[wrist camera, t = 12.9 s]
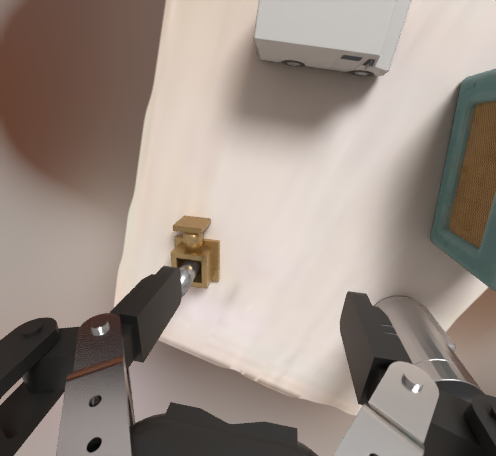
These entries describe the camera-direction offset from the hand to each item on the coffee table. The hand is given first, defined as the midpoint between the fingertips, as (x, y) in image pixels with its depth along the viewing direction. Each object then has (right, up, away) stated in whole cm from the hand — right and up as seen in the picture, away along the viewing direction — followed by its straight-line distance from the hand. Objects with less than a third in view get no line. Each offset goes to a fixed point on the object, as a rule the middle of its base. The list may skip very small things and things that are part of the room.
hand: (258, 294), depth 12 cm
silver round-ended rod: (-11, -3, +38) cm, 40 cm away
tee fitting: (-11, -1, +38) cm, 40 cm away
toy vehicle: (+10, +30, +23) cm, 39 cm away
